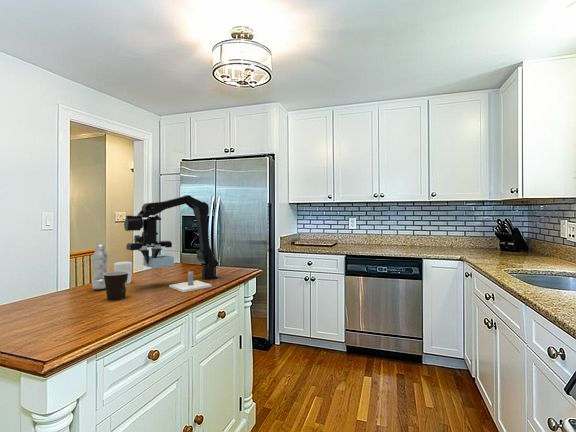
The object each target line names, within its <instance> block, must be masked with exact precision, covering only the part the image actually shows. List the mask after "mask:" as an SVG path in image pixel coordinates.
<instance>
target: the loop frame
mask: <svg viewBox="0 0 576 432" xmlns="http://www.w3.org/2000/svg"><path fill="white" fill-rule="evenodd" d="M142 260H143V266H145V267H148V268H151V269H156V268H163V267H164V268H165V267H171V266H172V267H173V266H175V257H174V256H170V255H166V254H158V255H157V257H156V258H152V255H149V263H148V265H147V264H146V261H145V259H144V256H143V259H142Z"/></svg>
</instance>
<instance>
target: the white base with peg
mask: <svg viewBox="0 0 576 432" xmlns="http://www.w3.org/2000/svg"><path fill="white" fill-rule="evenodd" d="M169 288H170V289H172V290H173V289H174V290H176V291H179V292H182V293H186V292H191V291H192V292H193V291H196V290H202V289H206V288H212V284H211V283H207V282H204V281H201V280H194V271H193V270H191V271H187V281H185V282H179V283H174V284H169Z"/></svg>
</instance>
